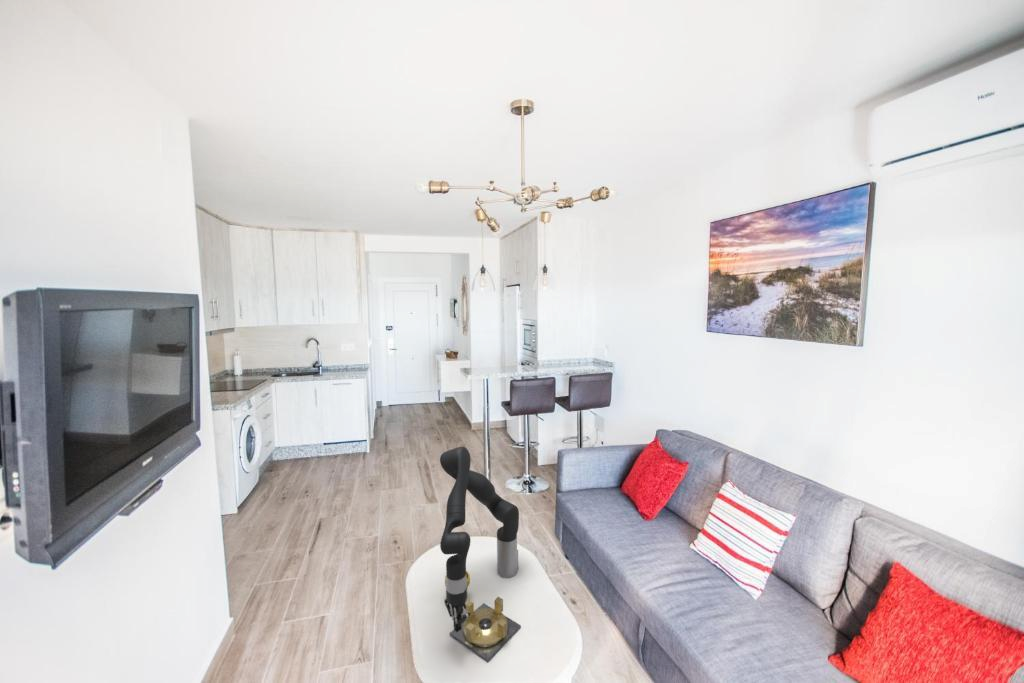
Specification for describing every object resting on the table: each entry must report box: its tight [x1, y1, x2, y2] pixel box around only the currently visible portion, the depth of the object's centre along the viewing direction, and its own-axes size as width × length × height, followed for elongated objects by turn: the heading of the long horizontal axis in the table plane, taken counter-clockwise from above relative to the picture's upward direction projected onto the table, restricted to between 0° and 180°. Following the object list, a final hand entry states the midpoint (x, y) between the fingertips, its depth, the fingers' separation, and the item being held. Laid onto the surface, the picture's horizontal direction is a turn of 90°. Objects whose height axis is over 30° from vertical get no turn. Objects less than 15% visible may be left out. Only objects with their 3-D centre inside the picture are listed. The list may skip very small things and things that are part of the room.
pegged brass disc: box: [463, 596, 508, 647], centre depth 157 cm, size 19×19×6 cm
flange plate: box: [449, 602, 522, 663], centre depth 157 cm, size 19×19×1 cm
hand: (457, 630), depth 150 cm, fingers closed
